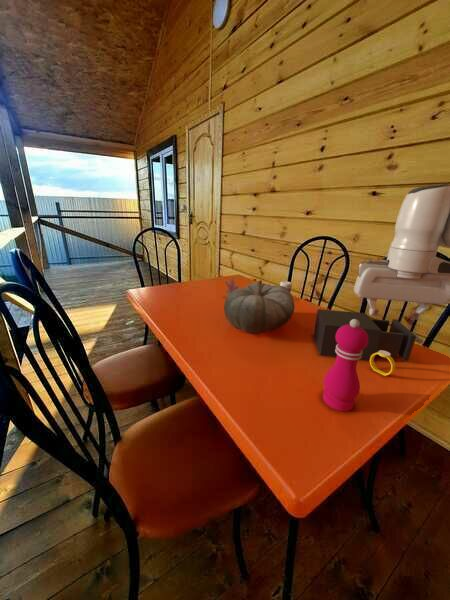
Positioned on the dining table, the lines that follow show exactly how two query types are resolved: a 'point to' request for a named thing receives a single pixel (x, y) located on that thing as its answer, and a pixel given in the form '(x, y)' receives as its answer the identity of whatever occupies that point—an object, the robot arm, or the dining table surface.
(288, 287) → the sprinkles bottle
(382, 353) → the watch
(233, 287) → the lily
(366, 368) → the dining table surface
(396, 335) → the drawer
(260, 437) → the dining table surface
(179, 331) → the dining table surface
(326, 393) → the pepper mill
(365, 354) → the cabinet
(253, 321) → the gourd
